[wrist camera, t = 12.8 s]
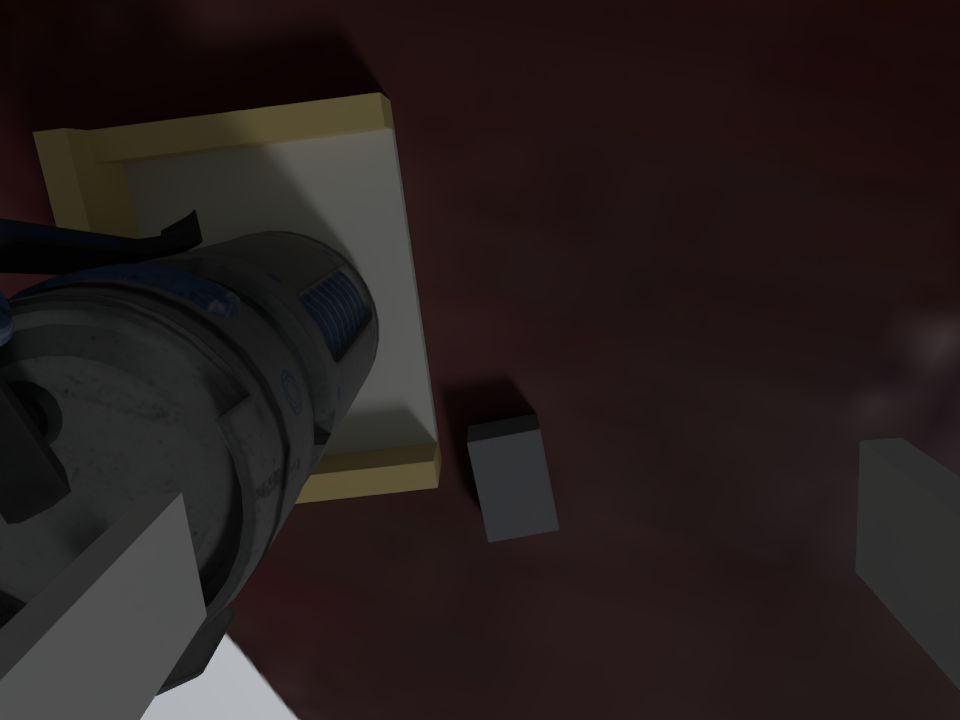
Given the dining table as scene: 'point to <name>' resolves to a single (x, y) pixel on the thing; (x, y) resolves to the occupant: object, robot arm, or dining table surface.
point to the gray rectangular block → (512, 477)
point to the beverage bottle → (169, 395)
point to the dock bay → (281, 207)
